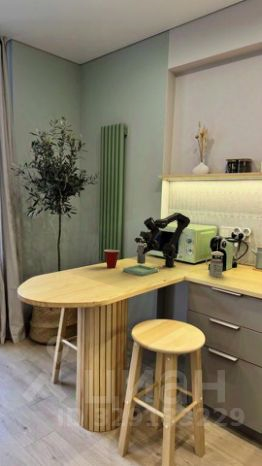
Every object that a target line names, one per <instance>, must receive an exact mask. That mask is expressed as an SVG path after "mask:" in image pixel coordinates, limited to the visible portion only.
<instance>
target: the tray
mask: <svg viewBox="0 0 262 466" xmlns="http://www.w3.org/2000/svg"><path fill="white" fill-rule="evenodd" d="M122 269H123V271H122V272H125V273H128V274H131V275H135V276H139V277H144V276H148V275H152V274H155V273H159V268H156V267H151V266H147V265H144V264H137V265H132V266H126V267H123V268H122Z"/></svg>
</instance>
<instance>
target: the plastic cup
mask: <svg viewBox="0 0 262 466" xmlns="http://www.w3.org/2000/svg"><path fill="white" fill-rule="evenodd" d="M103 251H104V254H105V263H106V267H107V268H108V269H116V267H117V263H118V258H119V257H118V256H119V254H120V252H121V251H120V250H119V249H118V250H117V249H104V250H103Z"/></svg>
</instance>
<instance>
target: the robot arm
mask: <svg viewBox="0 0 262 466" xmlns="http://www.w3.org/2000/svg"><path fill="white" fill-rule="evenodd" d="M175 221H176V229H175V230H174V233H173V234H172V236H171V238H170V240H169V242H168V243H165V244H164V245H163V247H162V250H161V253H162V257H163V258H165V261H164V265H162V266H163V267H166V268H171V269H172V268H174V267H176V265H175V260H176V259H177V257H178V255H177V253H176V245H177V244H178V241H179V239H180V238H181V235H182V234H183V232H184V230H185V229H186V228H188V226H189V225H190V223H191V219H190V217H188V216H186V215H184V214H182V213H181V212H174V213H173V214H171V215H168V216H166V217H164V218H158V219H156V220H154V218H153V217H151V216H150V217H148V218H147V219H145V220H144V221H143V224H144V226H145V227H146V228H147V230H148V231H144V230H141V231H140V233H139V237H135V238H134V241H135V243H136V244H137V245H138V243H139V242H143V243H146V248H145V250H144V251H143V254H145V253H149V252H151V251H153V250H159V249H160V246H161V245H160V244H159V242H158V241H157V237H158V236H159V235H162V234H163V233H162V230H164V229H166V227H168V226H169V224H171V223H173V222H175ZM141 237H142V238H141ZM136 249H137V250H136V253H137V252H138V247H137V248H136Z"/></svg>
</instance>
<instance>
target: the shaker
mask: <svg viewBox="0 0 262 466" xmlns="http://www.w3.org/2000/svg"><path fill="white" fill-rule="evenodd" d="M146 246H147V244H146V243H143V242H139V243H138V244H137V248H138V252H137V251H136V253H137V254H136V255H137V258H136V263H137V265H144V264H146V256H147V255H146V253H145V254H143V251H144V250H145V248H146Z"/></svg>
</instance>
